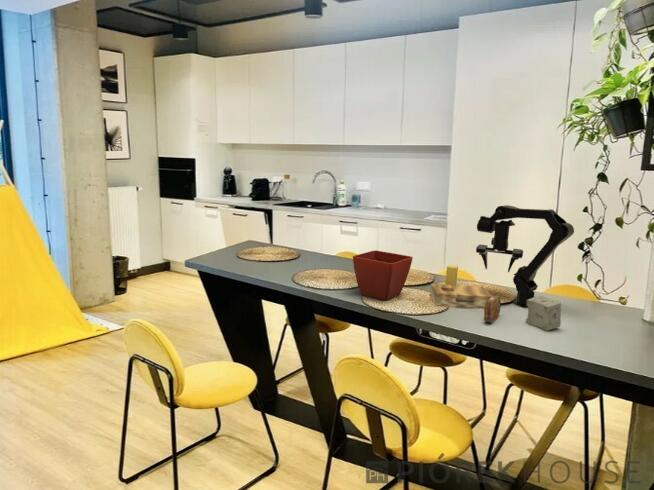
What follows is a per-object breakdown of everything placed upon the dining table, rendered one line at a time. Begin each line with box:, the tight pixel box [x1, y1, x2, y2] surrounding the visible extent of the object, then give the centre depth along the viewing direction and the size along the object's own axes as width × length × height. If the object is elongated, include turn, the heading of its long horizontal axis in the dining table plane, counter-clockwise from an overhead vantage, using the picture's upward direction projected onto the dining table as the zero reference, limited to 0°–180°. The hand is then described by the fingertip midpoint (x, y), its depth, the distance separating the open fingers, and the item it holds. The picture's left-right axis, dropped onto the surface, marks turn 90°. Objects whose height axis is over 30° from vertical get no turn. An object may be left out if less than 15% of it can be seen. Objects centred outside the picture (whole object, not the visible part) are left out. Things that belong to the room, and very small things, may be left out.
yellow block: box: [444, 264, 459, 285], centre depth 228 cm, size 4×4×12 cm
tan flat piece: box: [429, 283, 493, 309], centre depth 216 cm, size 22×16×5 cm
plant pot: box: [352, 250, 413, 301], centre depth 220 cm, size 19×19×17 cm
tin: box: [483, 295, 502, 324], centre depth 196 cm, size 15×3×8 cm, turn 148°
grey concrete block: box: [525, 295, 562, 332], centre depth 191 cm, size 10×8×10 cm
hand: (497, 270), depth 223 cm, fingers open, 9 cm apart
